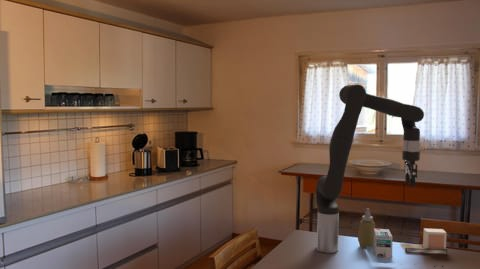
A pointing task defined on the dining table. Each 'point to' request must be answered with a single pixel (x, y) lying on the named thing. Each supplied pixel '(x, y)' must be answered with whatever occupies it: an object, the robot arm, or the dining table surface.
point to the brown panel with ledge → (422, 249)
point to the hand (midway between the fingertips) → (410, 184)
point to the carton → (434, 238)
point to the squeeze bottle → (366, 230)
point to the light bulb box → (383, 243)
